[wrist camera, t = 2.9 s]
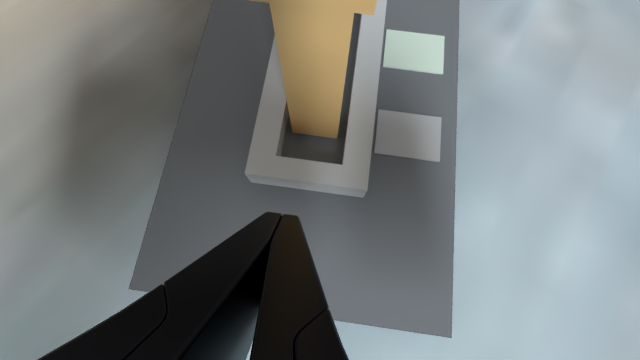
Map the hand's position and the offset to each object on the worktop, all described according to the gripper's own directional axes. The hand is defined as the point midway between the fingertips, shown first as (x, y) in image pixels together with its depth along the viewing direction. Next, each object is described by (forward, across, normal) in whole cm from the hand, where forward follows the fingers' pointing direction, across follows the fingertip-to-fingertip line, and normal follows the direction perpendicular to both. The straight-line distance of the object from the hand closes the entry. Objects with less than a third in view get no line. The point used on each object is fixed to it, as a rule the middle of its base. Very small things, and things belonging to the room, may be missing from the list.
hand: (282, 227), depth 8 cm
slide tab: (+9, 0, 0) cm, 9 cm away
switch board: (+10, 0, +1) cm, 10 cm away
